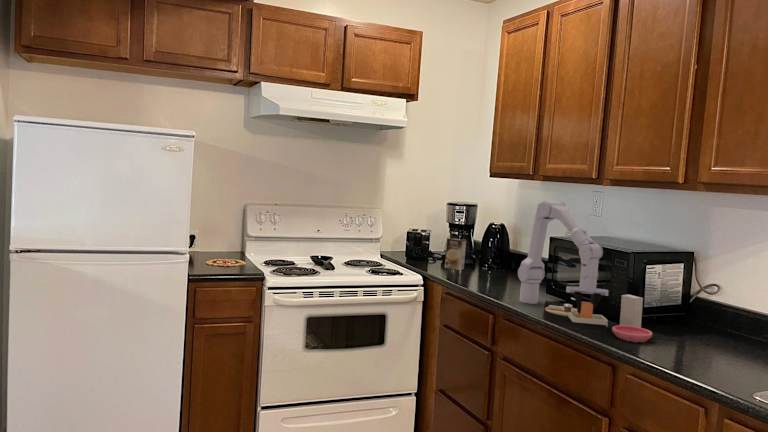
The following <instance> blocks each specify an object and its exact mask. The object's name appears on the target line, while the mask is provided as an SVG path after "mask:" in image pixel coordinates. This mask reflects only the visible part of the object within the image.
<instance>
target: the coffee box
mask: <svg viewBox="0 0 768 432" xmlns="http://www.w3.org/2000/svg"><path fill="white" fill-rule="evenodd" d="M466 248H467V240H466V239H461V238H454V237H449V238H446V246H445V249H446V250H445V261H444V268H445V269H449V270H454V271H455V270H456V271H462V270H464V269H465V260H466V259H465V258H466Z"/></svg>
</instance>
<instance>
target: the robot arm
mask: <svg viewBox="0 0 768 432" xmlns="http://www.w3.org/2000/svg"><path fill="white" fill-rule="evenodd" d="M554 220H559V221H560V223H561V224H562V225H563V226H564V227H565V228H566V229H567V231H569V233H570V237H569V238H570V239H571V241H572V242H573V243H574V244H575V246H576V247H577V249H578V255H579V257H580V264H581V265H580V275H579V276H580V278H579V286H572V285H571V286H569V285H567V286H566V289H565V291H566V293H572V294H573V298H574V300H575V301H574V302H575V305H576V309H577V312H578V313H580V311H581V302H583V301H582V300H583V297H584V296H583V294H588V295H590V302H591V303H592V304H593V312H592V314H594V312H595V309H596V307H597V305H598V304H599V302H600V301H601V299H602V296H604V297H605V296H606V297H609V292H610V290H608V289H605V288H604V289H603V288H597V281H598V271H599V270H598V269H599V261H600V259H601V258H602V257H603V254H604V249H603V247H602V245H601V244H600V243H598V242H597V243H596V242H595V241H594V240H593V239H592V238H591V237H590V235H589V234H588V233H587V232H588V231H587V229H584V228H582V227H579V225H578V224H577V223H576V222H575V220H574V218H573V217H572V215H571V214H570V212H569V207H568V206H567V205H566V202H563V201H550V200H549V201H547V200H542V201H541V202H539V203H537V208H536V212H535V214H534V219H533V225H532V231H531V234H530V235H531V236H530V241H529V247H528V253H527V257H526V258H524V259H523V260H522V261H521V263H520V266H519V268H518V269H517V277H518V279H519V281H520V283H521V284H520V291H519V292H520V293H519V302H521V303H524V304H531V305H535V304H538V303H539V294H540V293H539V291H540V284H541V283H542V281H543V280H544V278H545V275H546V271H545V263H544V262H543V261H542V257H543V252H544V247H545V241H546V236H547V230H548V224H549V223H550V222H552V221H554Z"/></svg>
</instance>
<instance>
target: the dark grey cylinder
mask: <svg viewBox="0 0 768 432" xmlns="http://www.w3.org/2000/svg"><path fill="white" fill-rule="evenodd" d="M548 307H549V308H551V309H557V310H563V307H567V308H573V304H570V303H563V306H562V307H560V306H559V305H552V304H549V305H548ZM572 312H575V313H578V312H577V308H576V309H572Z"/></svg>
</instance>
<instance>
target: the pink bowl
mask: <svg viewBox="0 0 768 432" xmlns="http://www.w3.org/2000/svg"><path fill="white" fill-rule="evenodd" d="M611 330H612V332H613V334H614V335H615V337H616V338H617V337H618V338H617V339H619V338H620V339H619V340H622V339H623V341H625V340H626V342H630V341H631V343H638V342H642V343H646V342H647V341H648V340H650V339H651V338H652V337H653V332H652V330H649V329H646V328H643V327H641V328H640V327H635V326H626V325H620V324H619V325H614V326H612V328H611Z"/></svg>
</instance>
